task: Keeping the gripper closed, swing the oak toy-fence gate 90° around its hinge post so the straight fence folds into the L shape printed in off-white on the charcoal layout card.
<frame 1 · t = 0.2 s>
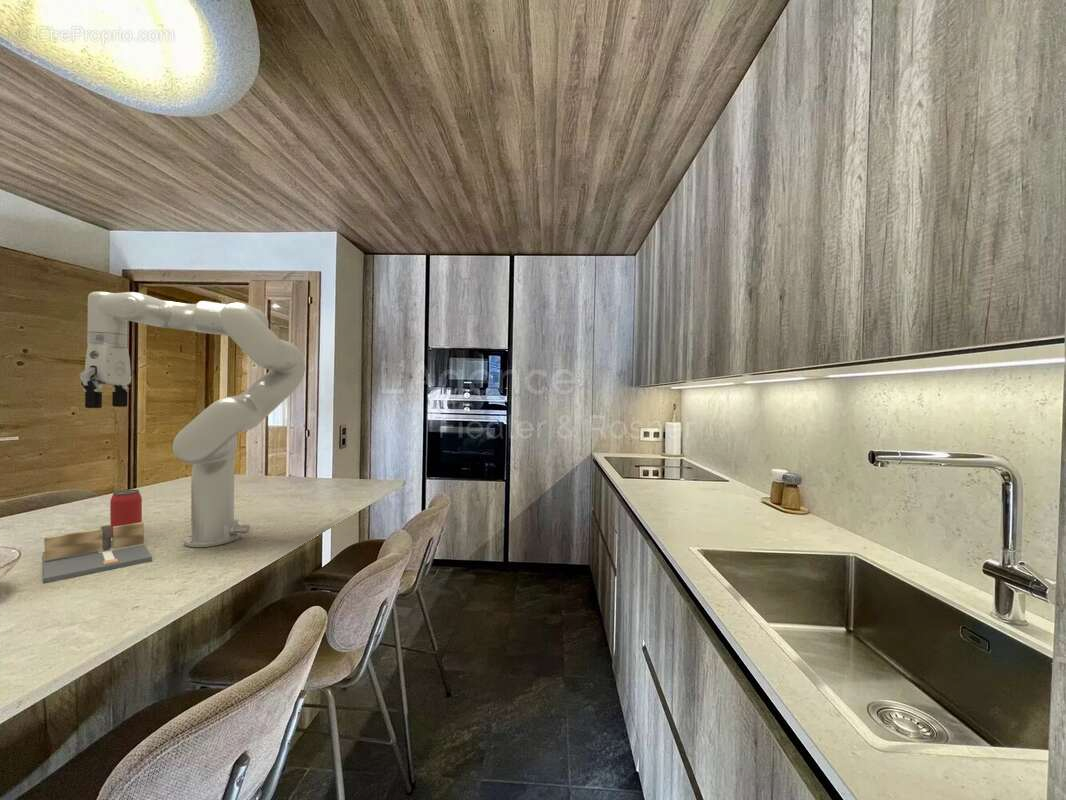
hand: (107, 407, 117), 36 cm above the countertop, tool pointing down, fingers open, 9 cm apart
beer can: (126, 534, 127), on the countertop
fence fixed: (128, 535, 114), on the layout card, point 4 cm above the countertop
fence gate: (79, 541, 108), point 4 cm above the countertop, hinge at 0.0°
layout card: (106, 554, 111), on the countertop
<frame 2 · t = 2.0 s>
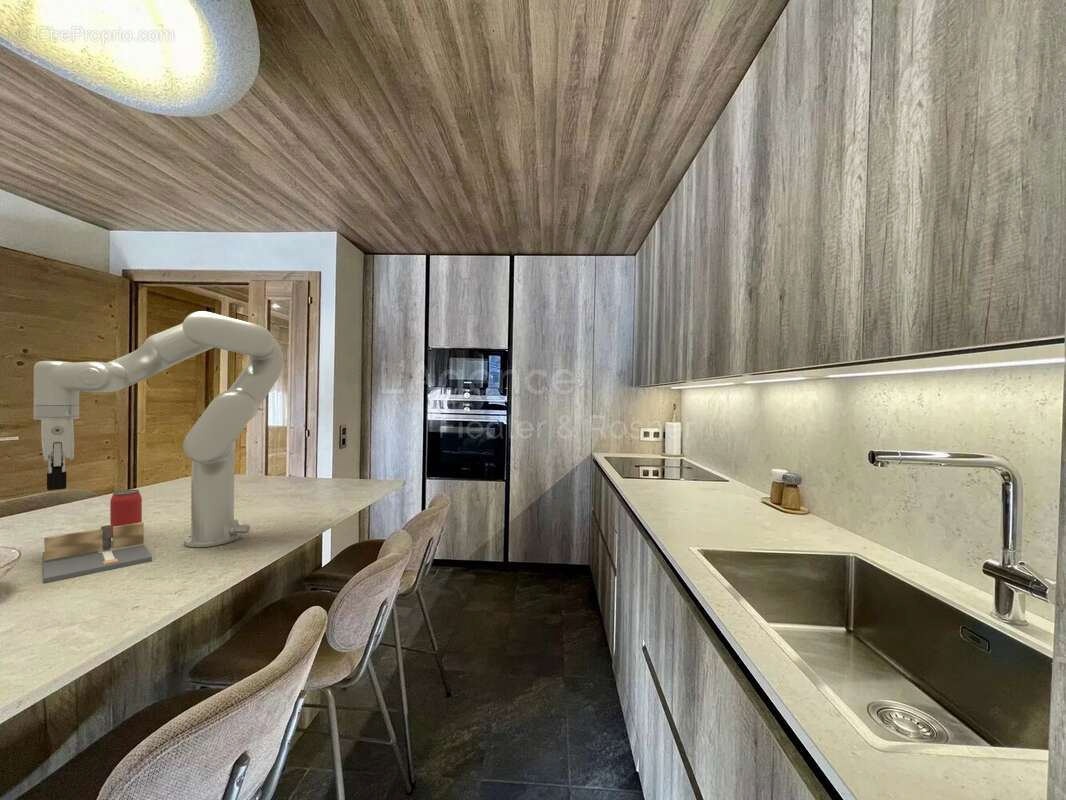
hand: (56, 488, 109), 17 cm above the countertop, tool pointing down, fingers closed
nothing on the countertop moved.
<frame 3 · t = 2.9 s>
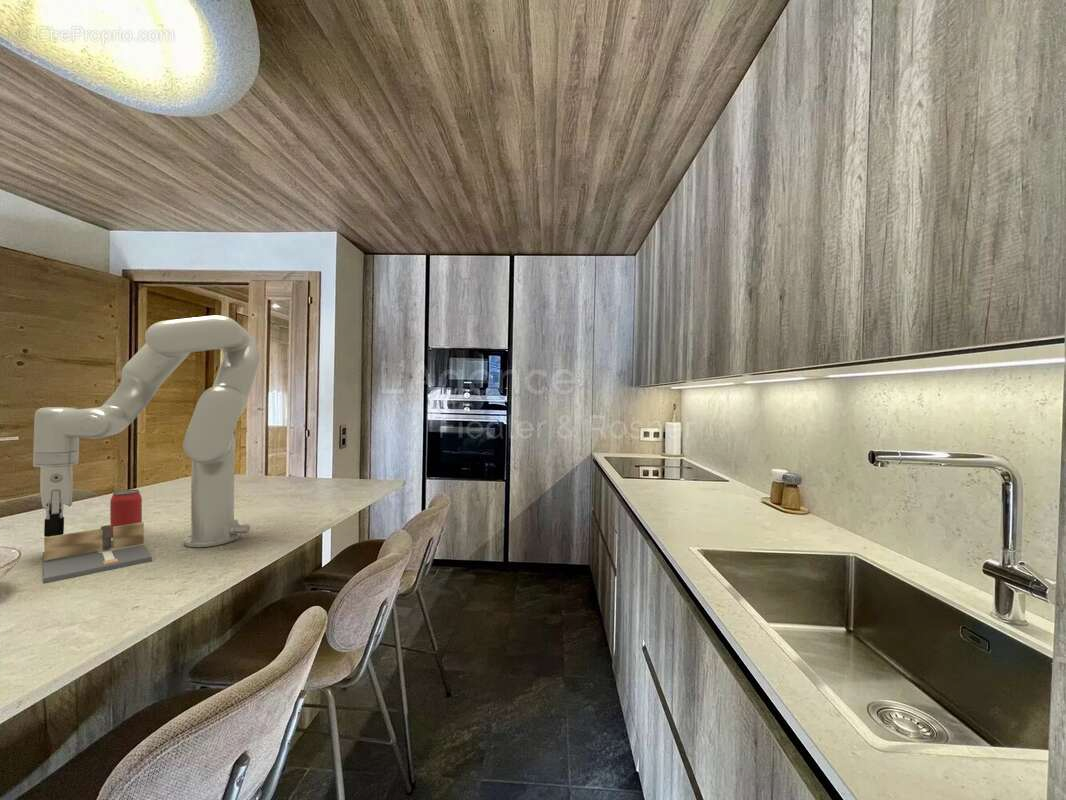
hand: (53, 534, 109), 6 cm above the countertop, tool pointing down, fingers closed
nothing on the countertop moved.
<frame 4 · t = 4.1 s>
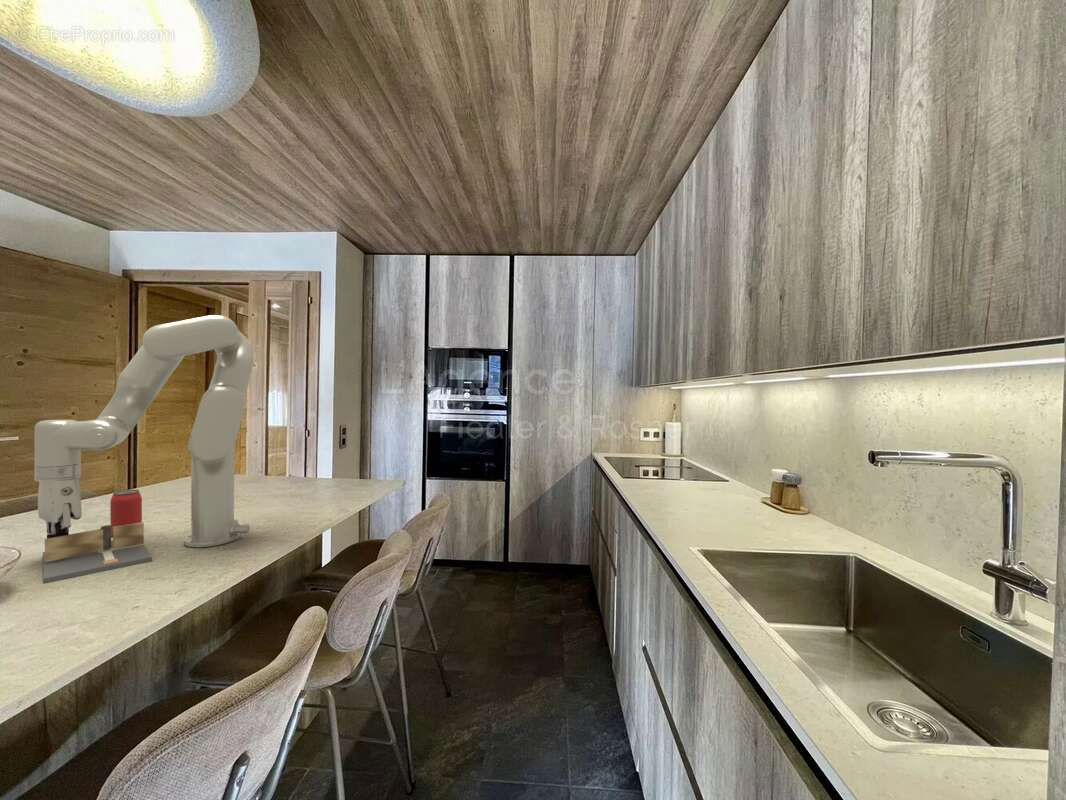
hand: (57, 550, 107), 3 cm above the countertop, tool pointing down, fingers closed
fence gate: (79, 542, 107), point 4 cm above the countertop, hinge at 9.6°, touching gripper
everything else where it was.
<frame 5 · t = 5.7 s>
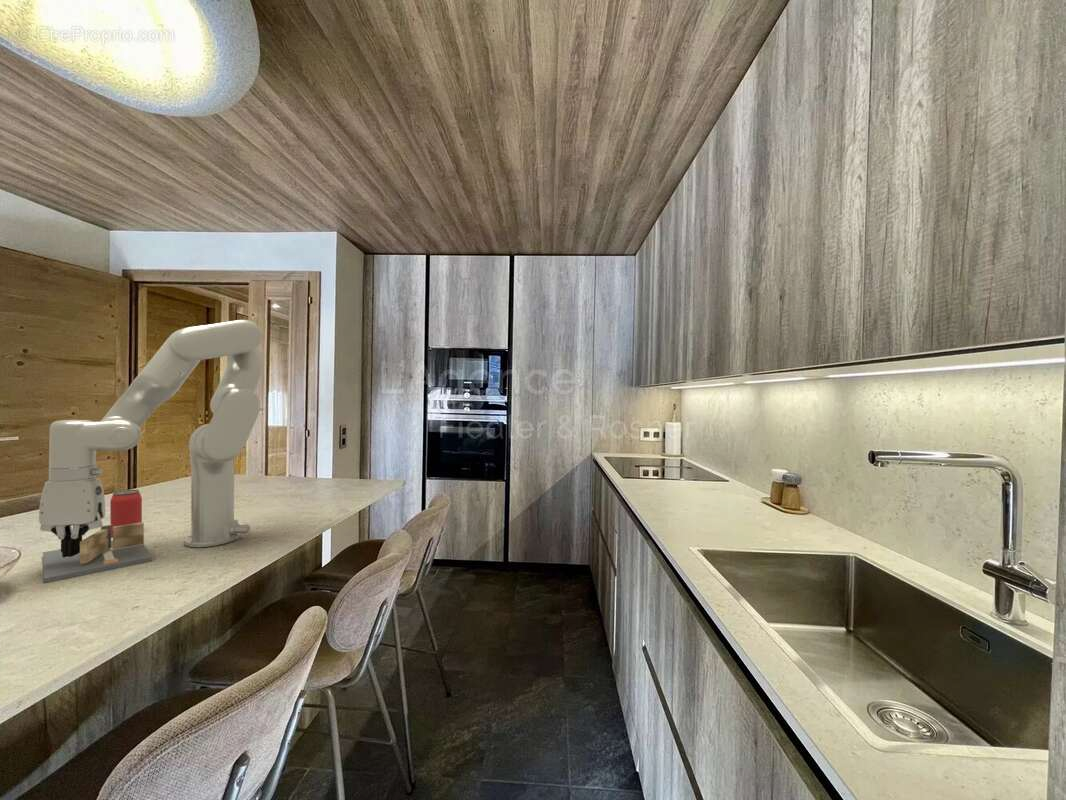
hand: (71, 554, 103), 3 cm above the countertop, tool pointing down, fingers closed
fence gate: (96, 543, 107), point 4 cm above the countertop, hinge at 64.7°, touching gripper
everything else where it was.
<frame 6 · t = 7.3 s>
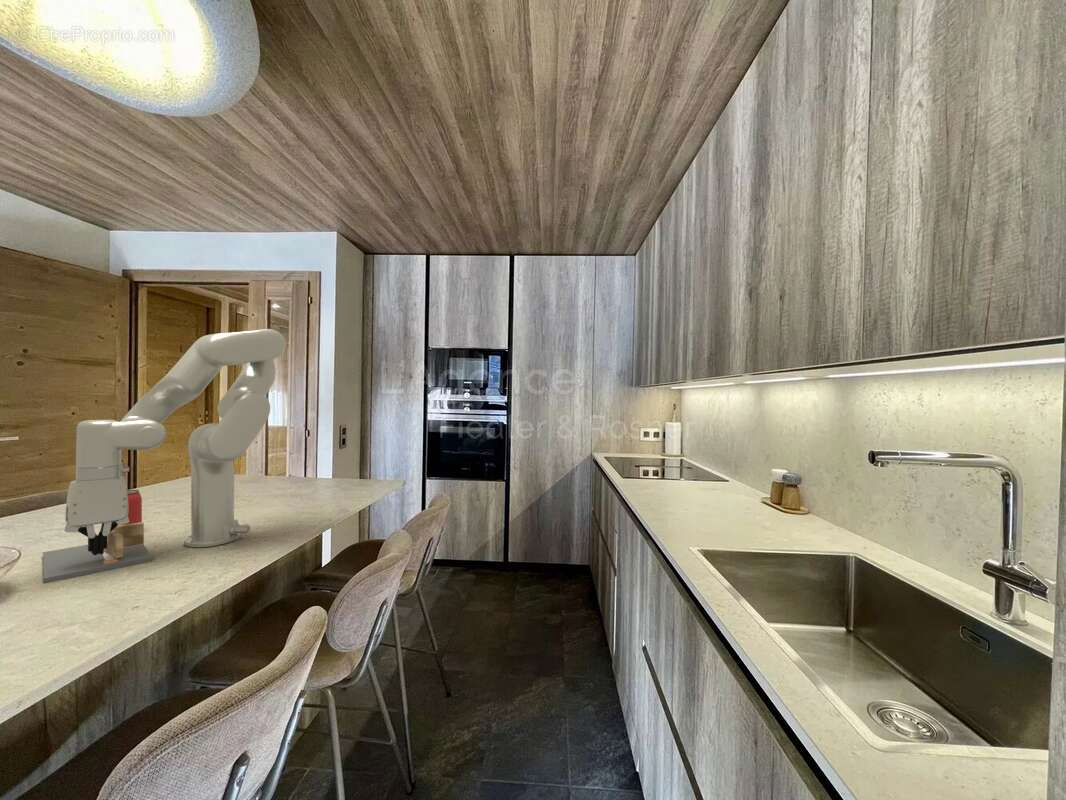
hand: (97, 553, 104), 3 cm above the countertop, tool pointing down, fingers closed
fence gate: (112, 541, 109), point 4 cm above the countertop, hinge at 98.8°
everything else where it was.
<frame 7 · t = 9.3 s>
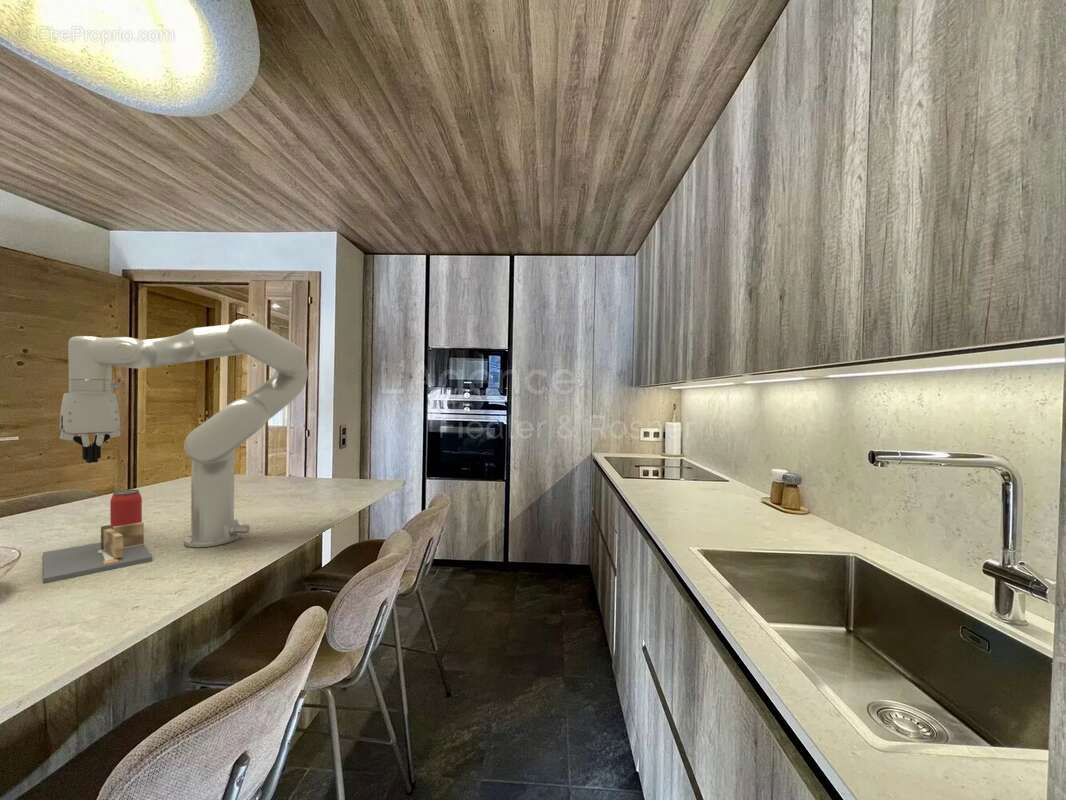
hand: (91, 462, 111), 23 cm above the countertop, tool pointing down, fingers closed
nothing on the countertop moved.
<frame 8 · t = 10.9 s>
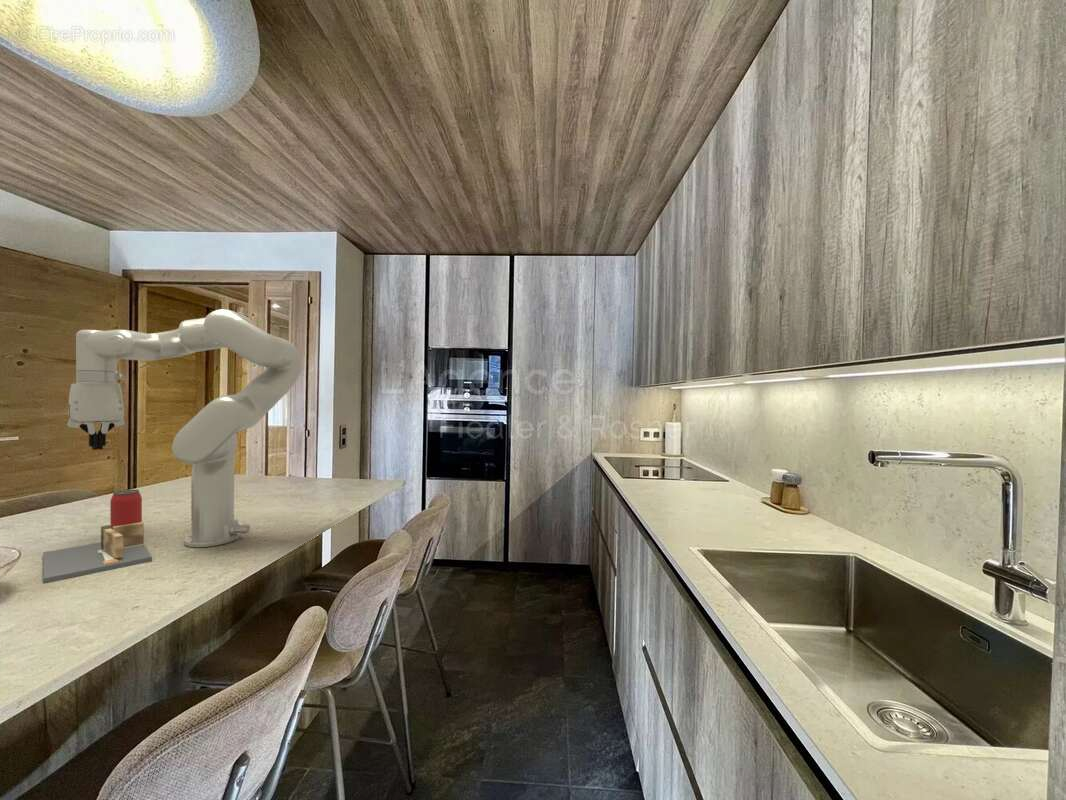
hand: (97, 449, 118), 25 cm above the countertop, tool pointing down, fingers closed
nothing on the countertop moved.
at the end: fence gate at +99° (first picture: +0°); beer can moved 0.2 cm from its start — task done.
